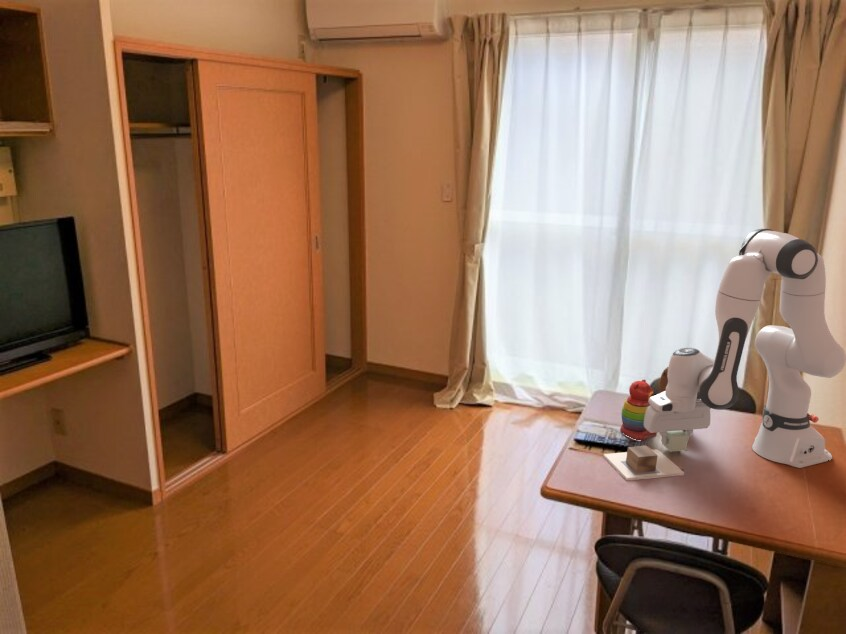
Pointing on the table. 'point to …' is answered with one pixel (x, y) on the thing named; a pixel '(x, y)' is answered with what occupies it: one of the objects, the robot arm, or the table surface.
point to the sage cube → (676, 440)
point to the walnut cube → (641, 459)
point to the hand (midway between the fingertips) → (674, 442)
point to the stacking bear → (636, 411)
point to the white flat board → (662, 470)
